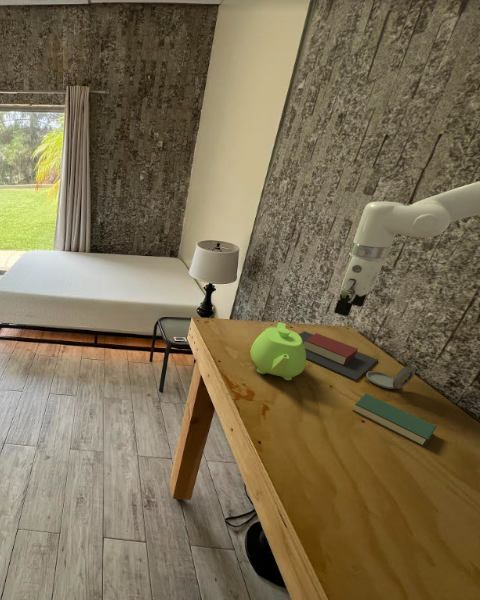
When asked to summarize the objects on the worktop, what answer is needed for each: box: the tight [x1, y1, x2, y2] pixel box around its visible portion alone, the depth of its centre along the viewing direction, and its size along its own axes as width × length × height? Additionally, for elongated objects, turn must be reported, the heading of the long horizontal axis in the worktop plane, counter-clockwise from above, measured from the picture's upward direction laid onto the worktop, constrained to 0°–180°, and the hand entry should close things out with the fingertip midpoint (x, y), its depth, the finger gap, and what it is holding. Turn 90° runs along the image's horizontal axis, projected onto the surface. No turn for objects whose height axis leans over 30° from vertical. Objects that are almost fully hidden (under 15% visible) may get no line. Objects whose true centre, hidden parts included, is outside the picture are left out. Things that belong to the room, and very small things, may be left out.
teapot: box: [249, 321, 307, 381], centre depth 88 cm, size 20×13×13 cm
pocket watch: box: [365, 358, 418, 390], centre depth 82 cm, size 8×8×10 cm
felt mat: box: [298, 330, 379, 382], centre depth 97 cm, size 20×16×1 cm
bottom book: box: [352, 393, 438, 448], centre depth 72 cm, size 12×6×2 cm, turn 33°
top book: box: [304, 332, 359, 366], centre depth 96 cm, size 11×7×3 cm
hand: (348, 309), depth 90 cm, fingers open, 9 cm apart
